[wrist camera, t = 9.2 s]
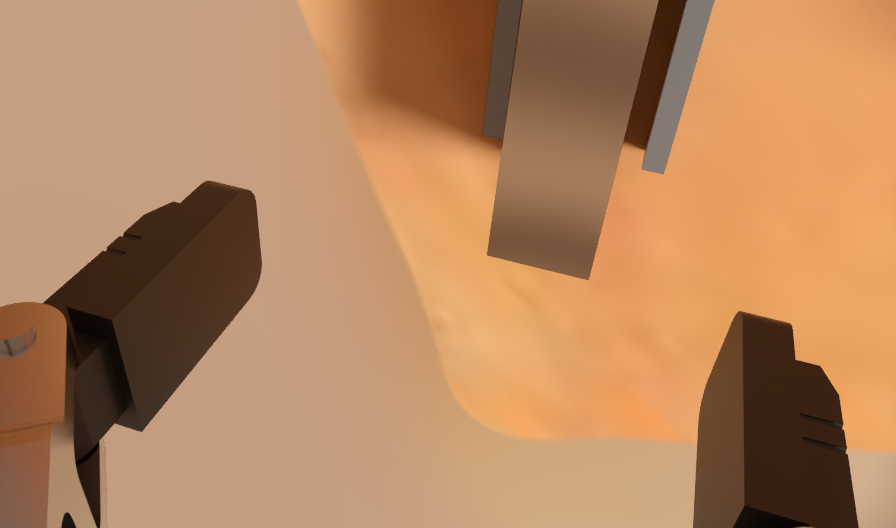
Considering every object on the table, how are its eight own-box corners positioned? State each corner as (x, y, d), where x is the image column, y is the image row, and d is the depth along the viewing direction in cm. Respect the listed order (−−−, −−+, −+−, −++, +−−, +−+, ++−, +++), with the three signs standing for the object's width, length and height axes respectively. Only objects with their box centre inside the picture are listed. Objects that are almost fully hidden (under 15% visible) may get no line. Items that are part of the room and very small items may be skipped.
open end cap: (528, -172, 24) (518, -166, 23) (752, -142, 22) (753, -134, 21) (491, 118, 30) (482, 135, 29) (666, 155, 28) (663, 174, 27)
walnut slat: (602, -265, 22) (559, -257, 17) (721, -251, 21) (717, -238, 16) (530, 158, 30) (487, 255, 25) (614, 176, 30) (588, 280, 24)
